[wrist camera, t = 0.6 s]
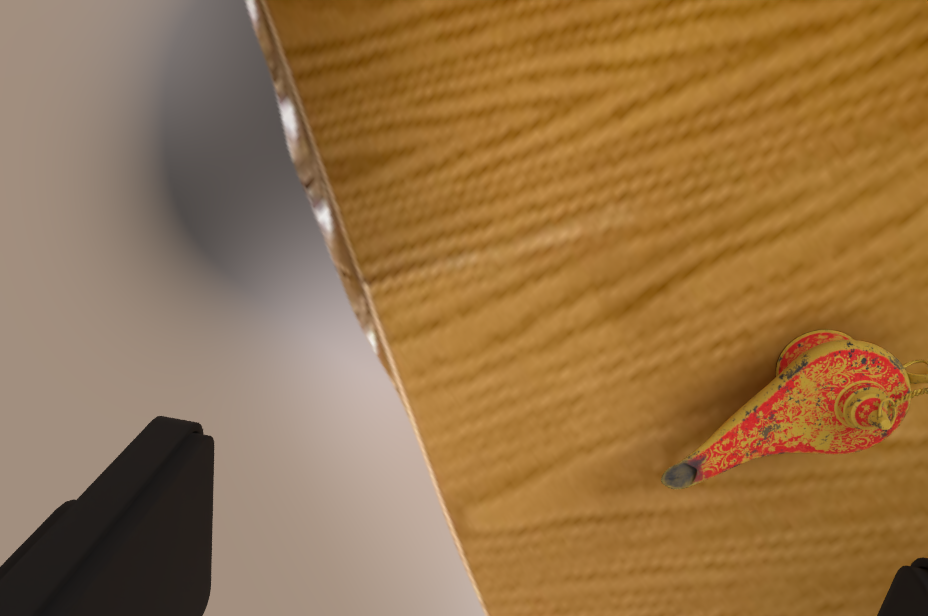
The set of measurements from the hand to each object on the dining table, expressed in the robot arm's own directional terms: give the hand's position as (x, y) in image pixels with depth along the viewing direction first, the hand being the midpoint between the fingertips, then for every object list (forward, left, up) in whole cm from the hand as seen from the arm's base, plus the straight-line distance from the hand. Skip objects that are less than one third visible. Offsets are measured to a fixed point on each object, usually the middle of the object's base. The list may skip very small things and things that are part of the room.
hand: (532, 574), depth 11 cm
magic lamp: (+19, +7, -36) cm, 41 cm away
